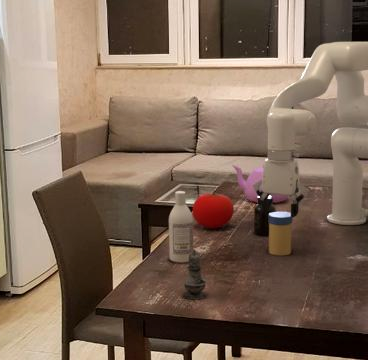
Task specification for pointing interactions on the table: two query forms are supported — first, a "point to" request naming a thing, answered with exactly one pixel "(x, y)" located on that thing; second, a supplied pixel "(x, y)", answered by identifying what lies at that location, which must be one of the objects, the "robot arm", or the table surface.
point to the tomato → (213, 210)
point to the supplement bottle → (262, 217)
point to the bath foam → (180, 230)
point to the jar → (279, 239)
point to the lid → (280, 218)
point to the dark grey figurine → (194, 278)
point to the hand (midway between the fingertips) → (279, 214)
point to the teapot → (252, 179)
